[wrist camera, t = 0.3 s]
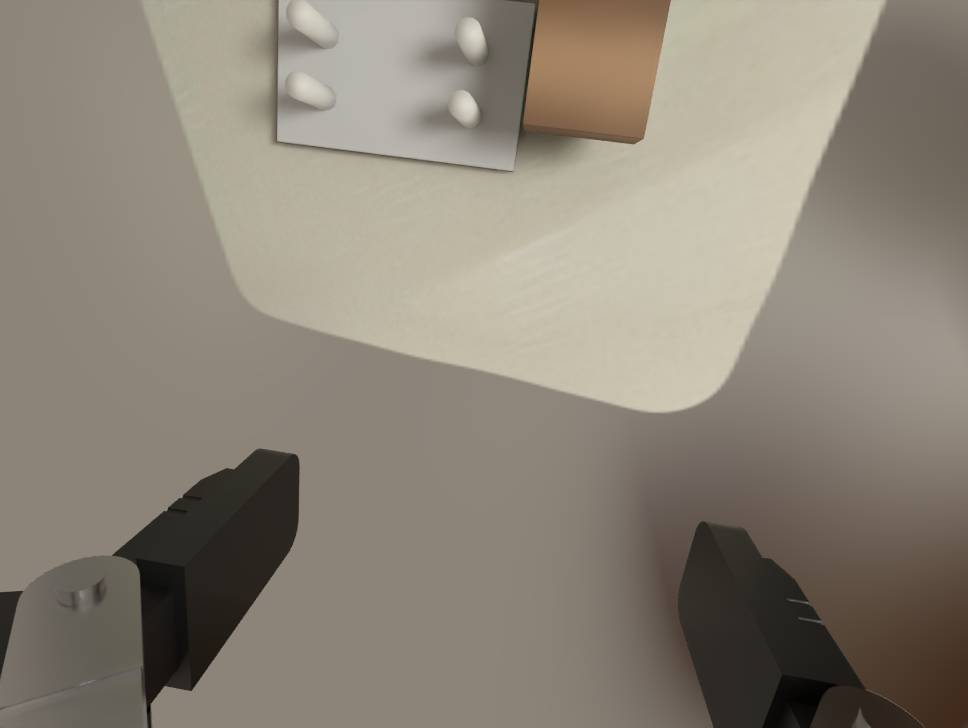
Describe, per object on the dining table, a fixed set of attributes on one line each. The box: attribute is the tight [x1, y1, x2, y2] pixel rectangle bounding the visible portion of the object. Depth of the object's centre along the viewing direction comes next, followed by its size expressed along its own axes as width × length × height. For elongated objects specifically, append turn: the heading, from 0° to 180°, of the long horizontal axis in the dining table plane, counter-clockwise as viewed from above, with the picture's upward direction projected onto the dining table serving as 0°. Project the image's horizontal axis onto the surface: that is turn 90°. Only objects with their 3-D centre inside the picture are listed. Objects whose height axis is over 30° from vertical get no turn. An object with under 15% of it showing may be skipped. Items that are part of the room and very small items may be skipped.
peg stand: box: [277, 0, 535, 172], centre depth 31 cm, size 9×15×5 cm, turn 83°
